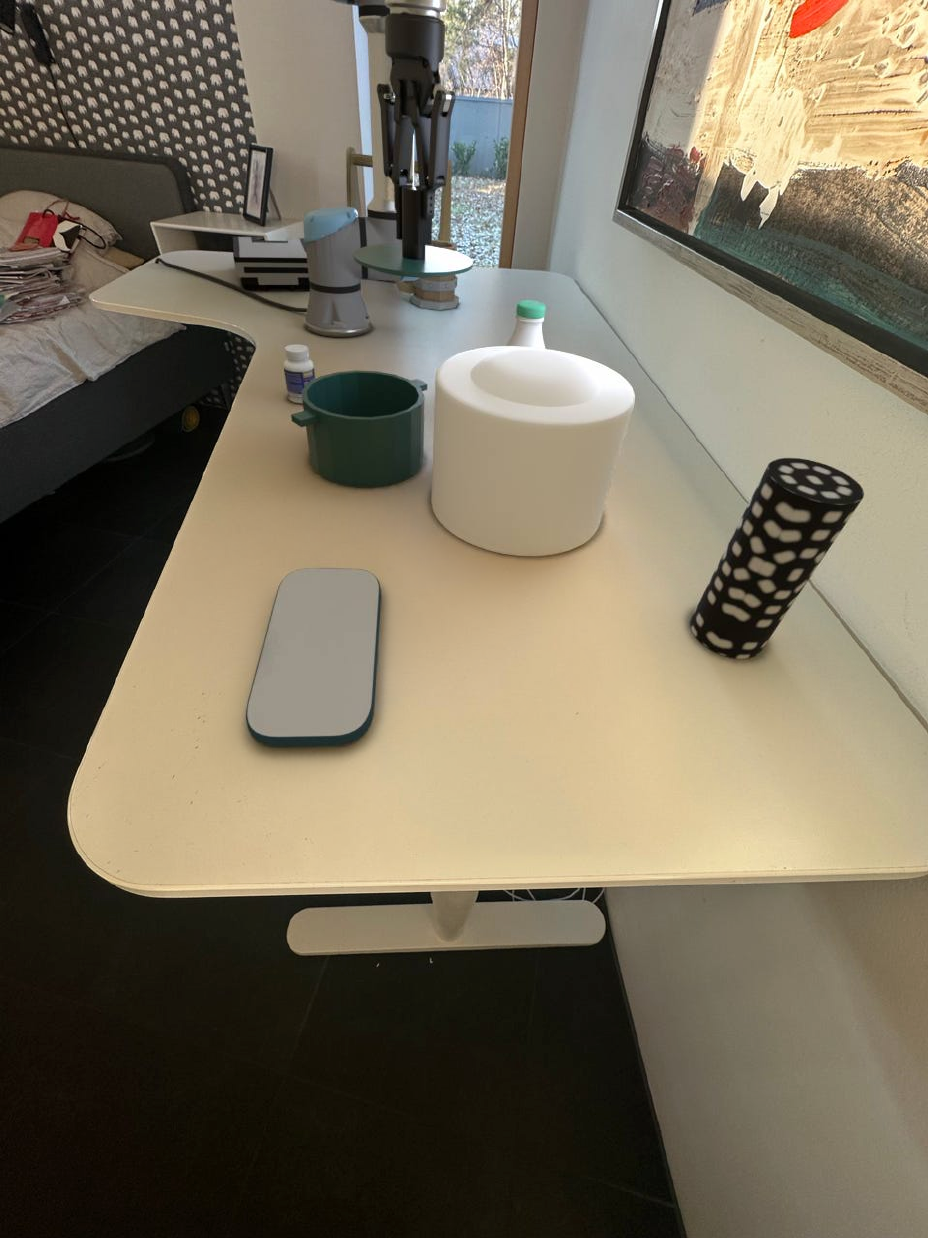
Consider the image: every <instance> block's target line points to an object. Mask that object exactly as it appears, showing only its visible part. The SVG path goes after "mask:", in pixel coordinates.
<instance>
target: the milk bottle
mask: <svg viewBox="0 0 928 1238" xmlns="http://www.w3.org/2000/svg"><path fill="white" fill-rule="evenodd" d="M515 310H516V312H515V319H516V323H515V326H514V328H513V331H512V333H511V334H510V337H509V339H508V340H507V342H506V344H505V346H520V347H534V348H542V349H546V346H545V345H546V344H545V341H544V336H543V322H544V321H545V315H546V310H547V306H546V304H544V303H543V302H540V301H537V300H529V299H528V300H520V301H518V302H517V304H516V309H515Z"/></svg>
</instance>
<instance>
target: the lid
mask: <svg viewBox="0 0 928 1238" xmlns="http://www.w3.org/2000/svg"><path fill="white" fill-rule="evenodd" d="M415 190H416V187H415V186H414V187H412V186H405V187H402V244H380V245H371V246H366V247H362V248H359V249H357V250H356V251H355V252H354V253H353V258H354V260H355V261H356V262H357V263H358V264H360V265H362V266H364V267H367V268H370V269H373V270H377V271H380V272H383V273H387V274H392V275H398V276H405V277H419V278H433V277H444V276H450V275H455V276H456V275H461V274H464V273H466V272H469V271H471V270H472V269H473V267H474V260H473V259H472V258H471V257H470V256H468V255H466V254H464V253H462V252H459V251H457V252H456V251H452V250H448V249H444V248H439V247H432V246H426V245H420V246H417V245H415Z"/></svg>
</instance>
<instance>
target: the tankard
mask: <svg viewBox="0 0 928 1238" xmlns="http://www.w3.org/2000/svg"><path fill="white" fill-rule="evenodd" d="M427 246H432V247H439V248H444V249H448V250H452V251H456V252H458V249H457V248H458V245H457V244H455V243H453V242H451V241H450V242H447V241H439V240H438V239H434V240H433V239H432V244H429V245H427ZM394 283H395V285H396V287H397V289H398V291H399V292H401V293H404V294H411V296H410V303H411V304H413V305H415V306H416V307H418V308H421V309H424V310H425V309H426V310H427V309H428V310H435V311H445V310H446V311H447V310H453V309H454V310H455V309H456V307H457V306H458V305H459V303H460V297H459V296H458V295H455V294H456V293H455V291H456V288H457V287H458V276H456V275H450V276H444V277H433V278H419V279H417V280H414V281H413V285H411V284H405V283H404V281H402V282H400V281H399V280H395V282H394Z"/></svg>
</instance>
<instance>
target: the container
mask: <svg viewBox="0 0 928 1238" xmlns="http://www.w3.org/2000/svg"><path fill="white" fill-rule="evenodd" d="M434 380H435V381H434V385H435V386H434V406H433V407H434V408H433V409H434V411H433V438H432V439H433V440H432V441H433V443H432V468H431V469H432V471H431V502H430V503H431V508H432V512H433V513H434V515H435V517H436V519H437V520H438V521H439V523H440V525H442V526H443V527H444V528H445V529H446V530H447V531H448V532H450V533H451V534H452V535H454V536H455V537H457V538H459V540H460V539H461V540H462V541H464V542H465V543H468V544H470V545H472V546H475V547H477V548H481V549H483V550H486V551H489V552H494V553H498V554H503V555H508V556H519V557H542V556H543V557H545V556H552V555H557V554H562V553H565V552H569V551H573V550H574V549H577V548H578V547H581V546H582V545H584V544H586V543H587V542H589V541H590V540H591V539H592V538H593V537H594V535H595V534H596V533H597V531H598V529H599V528H600V525H601V521H602V518H603V515H604V511H605V507H606V504H607V501H608V498H609V493H610V490H611V487H612V484H613V480H614V476H615V473H616V469H617V466H618V462H619V458H620V456H621V452H622V449H623V445H624V442H625V439H626V435H627V432H628V428H629V425H630V422H631V417H632V415H633V410H634V407H635V403H636V394H635V391H634V388H633V386H632V385H631V383H630V382H629V381H628V380H627V379H625V378H624V377H623V376H622V374H620V373H618V372H617V371H615V370H613V369H611V368H610V367H608V366H606V365H604V364H602V363H600V362H597V361H595V360H592V359H589V358H586V357H583V356H579V355H576V354H573V353H569V352H564V351H560V350H556V349H549V348H545V349H542V348H534V347H520V346H506V345H504V346H503V345H500V346H488V347H481V348H480V347H479V348H474V349H470V350H466V351H462V352H459V353H457V354H455V355H452V356H450V357H449V358H447V359H445V360H444V361H443V362H442V363H441V364H440V365H439V366H438V369H437V370H436V373H435V379H434Z"/></svg>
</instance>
